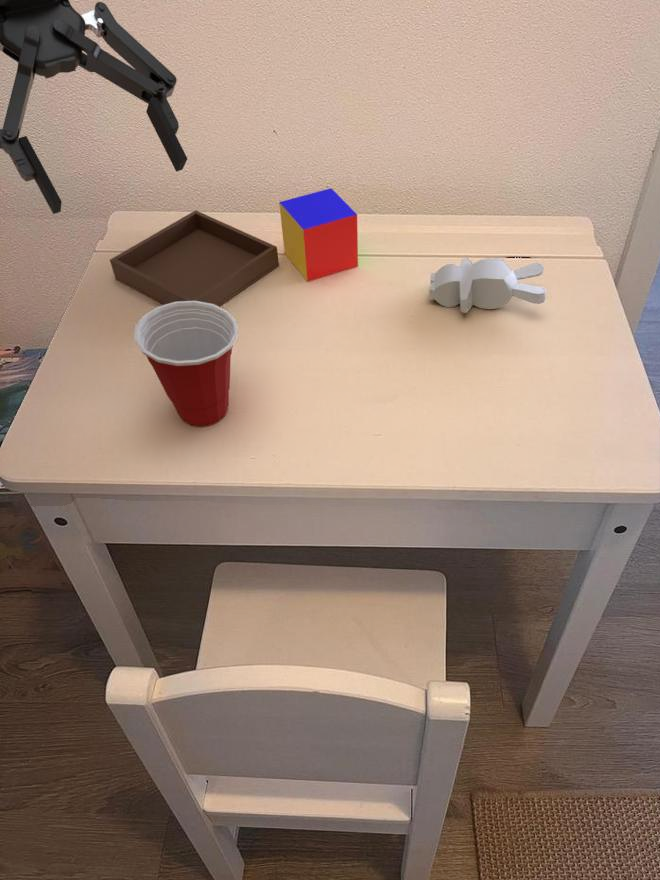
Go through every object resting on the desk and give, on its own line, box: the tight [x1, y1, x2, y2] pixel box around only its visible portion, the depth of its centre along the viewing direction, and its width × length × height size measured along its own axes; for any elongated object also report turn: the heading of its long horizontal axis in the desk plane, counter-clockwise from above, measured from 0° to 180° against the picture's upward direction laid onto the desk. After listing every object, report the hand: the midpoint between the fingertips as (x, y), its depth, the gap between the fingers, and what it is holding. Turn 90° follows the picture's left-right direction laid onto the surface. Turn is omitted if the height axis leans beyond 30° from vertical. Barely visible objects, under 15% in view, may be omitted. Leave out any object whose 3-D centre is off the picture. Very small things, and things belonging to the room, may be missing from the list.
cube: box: [279, 187, 359, 282], centre depth 101 cm, size 8×8×8 cm
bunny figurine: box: [429, 257, 547, 314], centre depth 96 cm, size 10×5×15 cm
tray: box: [109, 209, 280, 308], centre depth 101 cm, size 16×16×3 cm
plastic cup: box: [133, 301, 239, 428], centre depth 80 cm, size 11×11×12 cm
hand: (122, 186), depth 72 cm, fingers open, 13 cm apart
